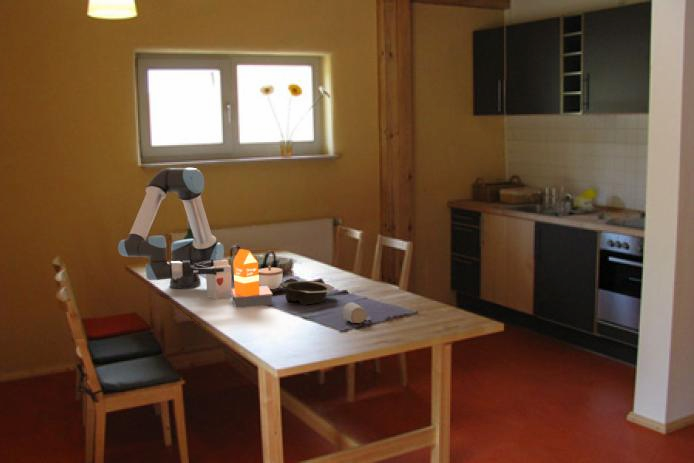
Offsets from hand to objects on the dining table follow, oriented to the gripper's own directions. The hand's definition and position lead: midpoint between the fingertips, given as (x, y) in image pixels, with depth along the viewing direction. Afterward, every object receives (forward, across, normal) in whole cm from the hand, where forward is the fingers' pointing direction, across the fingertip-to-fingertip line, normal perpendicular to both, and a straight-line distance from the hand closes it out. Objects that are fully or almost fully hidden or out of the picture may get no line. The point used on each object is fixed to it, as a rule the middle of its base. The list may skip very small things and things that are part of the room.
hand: (229, 265), depth 360 cm
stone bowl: (+34, +6, -18) cm, 39 cm away
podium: (+9, 0, -18) cm, 20 cm away
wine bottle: (-13, -75, -18) cm, 78 cm away
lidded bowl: (+21, -24, -18) cm, 37 cm away
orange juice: (+7, +4, -13) cm, 15 cm away
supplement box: (-4, -16, -18) cm, 24 cm away
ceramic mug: (+46, +48, -18) cm, 69 cm away
